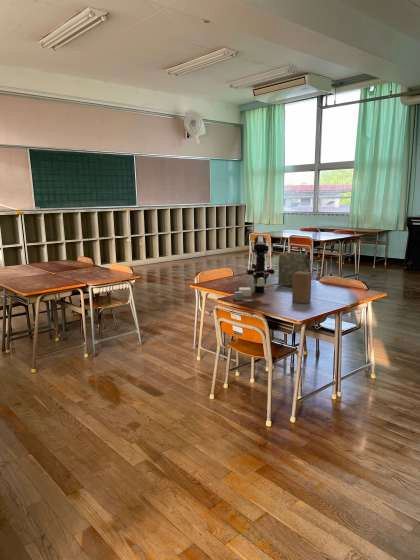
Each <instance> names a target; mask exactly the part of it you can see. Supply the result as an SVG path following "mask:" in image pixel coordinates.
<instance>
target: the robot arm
mask: <svg viewBox="0 0 420 560" xmlns="http://www.w3.org/2000/svg"><path fill="white" fill-rule="evenodd" d="M253 240H254V242H253V243H254V255H256V259H255V260H256V261H255V263H252V264H251V268H250V269H246V271H245V274H246V275H248V276H250V275H251V276H252V277H253V284H254V286H253V288H254V290H253V291H254V292H255V293H258V294H259V293H266V292H265V286H256V284H257V278H264V279H265V285H266V284H267V279H268V278H269V276H270V275H275V269H273V268H267V269H265V265H266V264H265V262H266V256H265V255H267V253H268V246H267V239H266V237H265V236H264V235H263V234H260V235H259V234H258V235H256V237H254V239H253Z"/></svg>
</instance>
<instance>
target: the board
mask: <svg viewBox="0 0 420 560" xmlns="http://www.w3.org/2000/svg"><path fill="white" fill-rule="evenodd" d="M242 301H243V303H256V302H257V301H256V300H255V299H254V298H252V299H251V298H250V299H243V300H242Z"/></svg>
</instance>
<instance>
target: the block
mask: <svg viewBox="0 0 420 560" xmlns="http://www.w3.org/2000/svg"><path fill="white" fill-rule="evenodd" d="M311 297H312V272H311V271H310V272H302V271H298V272H296V273H293V287H292V297H291V300H292V301H291V302H292V303H294V304H302V305H305V304H308V303H309V302H311Z"/></svg>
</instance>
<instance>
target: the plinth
mask: <svg viewBox="0 0 420 560" xmlns="http://www.w3.org/2000/svg"><path fill="white" fill-rule="evenodd" d="M238 291H242V293H243V297H252V289H251V287H248V286H247V287H238Z"/></svg>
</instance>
